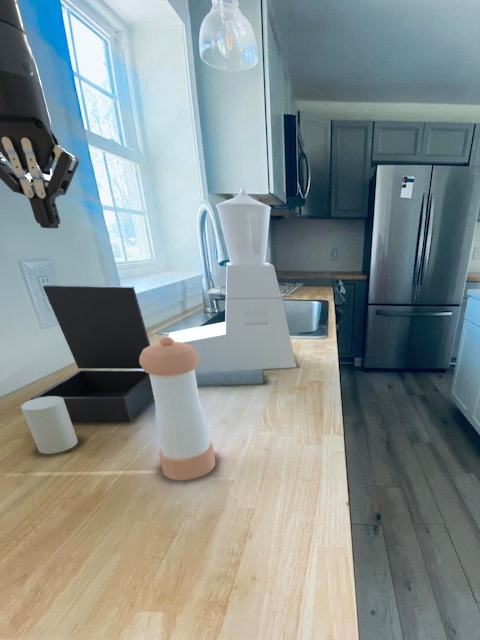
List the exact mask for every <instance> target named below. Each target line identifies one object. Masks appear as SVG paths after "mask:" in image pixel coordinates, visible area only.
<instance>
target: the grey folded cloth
mask: <svg viewBox="0 0 480 640" xmlns="http://www.w3.org/2000/svg"><path fill="white" fill-rule="evenodd" d="M195 376H196V382H197V387H204V386H206V387H207V386H220V387H221V386H223V387H224V386H242V385H244V386H245V385H264V383H265V372H264V369H256V370H238V371H212V372H195Z"/></svg>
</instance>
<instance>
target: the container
mask: <svg viewBox="0 0 480 640" xmlns="http://www.w3.org/2000/svg"><path fill="white" fill-rule="evenodd" d="M20 408H21V412H22V413H23V417H24V419H25V421H26V424H27V426H28V428H29V431H30V433H31V436H32V438H33V441H34V443H35V446H36V448H37V450H38V452H39V453H40V454H48V455H49V454H57V453H61V452H65V451H67V450H68V451H69V450H70V449H72V448H73V447H75V446H76V445H77V444H78V442H79V440H78V438H77V434H76V432H75V428H74V426H73V422H71V420H70V417H69V414H68V411H67V408H66V405H65V402H64V399H63V398H62V397H58V396H48V397H41V398H36V399H33V400H31V399H30V400H28V401H26V402H24V403H22V404H21V406H20Z"/></svg>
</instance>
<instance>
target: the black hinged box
mask: <svg viewBox="0 0 480 640" xmlns="http://www.w3.org/2000/svg"><path fill="white" fill-rule="evenodd" d="M48 396H58V397H62V398H63V399H64V402H65V405H66V408H67V411H68V414H69V417H70V420H71V422H72V423H131V422H132V421H133V420H134V419H135V418H136V417H137V416H138V415H139V414H140V413H141V412H142V411H143V409H145V408H146V406H147V405H148V404H149V403H150V402H151V401H152V400H153V399H154V395H153V390H152V385H151V380H150V375H149V373H146V372H145V371H144V369H79V370H77V371H75V372H74V373H72V374H70V375H68V376H67V377H65V378H64V379H62V380H60V381H58V382H56V383H54V384H53V385H51V386H49V387H48V388H46V389H45V390H43V391H41V392H39V393H37V394H35V395H34V396H32V397H31V398H30V400H33V399H36V398H41V397H48Z"/></svg>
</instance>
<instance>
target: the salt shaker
mask: <svg viewBox="0 0 480 640" xmlns="http://www.w3.org/2000/svg"><path fill="white" fill-rule="evenodd" d="M159 339H160V340H159V341H158V342H155V343H151V344H150V346H148V347H147V348H145V349H143V351H142V353H141V355H140V358H139V363H140V365H141V367H142V368H143V369H142V370H144V371H145V372H146V373H149V375H150V380H151V385H152V390H153V395H154V398H153V399H154V406H155V407H154V408H155V431H156V435H157V439H158V443H159V447H160V449H159V453H158V457H159V461H160V465H161V469H162V473H163V475H164V476H165V477H166V478H169V479H170V480H171V479H172V480H174V481H189V480H195V479H197V478H201V477H203V476H205V475H207V474H208V473H210V472H211V471H212V470H214V468H215V466H216V458H215V449H214V444H213V442H212V441H211V440H210V435H209V425H208V421H207V417H206V414H205V412H204V408H203V405H202V402H201V400H200V395H199V390H198V386H197V382H196V376H195V370H194V369H195V368H196V367H197V366H198V363H199V355H198V353H197V351H196V350H195V349H194V348H193V347H192V346H191V345H189V344H186V343H183V342H178V341H174V340H173V339H172V338H171V337H168V336H162V337H161V338H159Z"/></svg>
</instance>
